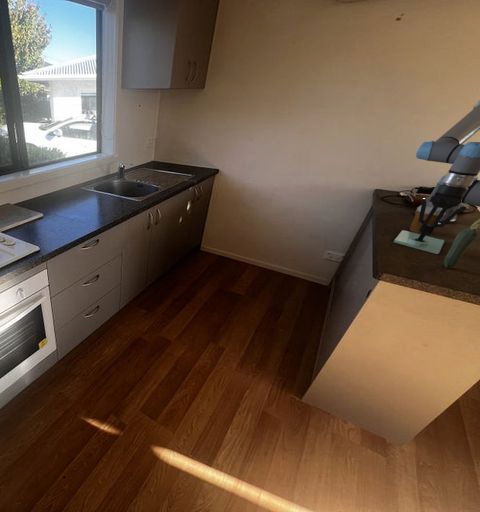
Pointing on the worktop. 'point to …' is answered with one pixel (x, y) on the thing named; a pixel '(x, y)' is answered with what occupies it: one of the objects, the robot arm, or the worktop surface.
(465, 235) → the vegetable
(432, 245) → the scale
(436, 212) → the disposable coffee cup
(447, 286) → the worktop surface
